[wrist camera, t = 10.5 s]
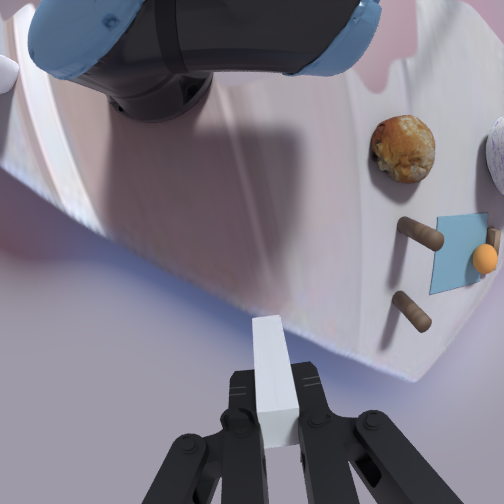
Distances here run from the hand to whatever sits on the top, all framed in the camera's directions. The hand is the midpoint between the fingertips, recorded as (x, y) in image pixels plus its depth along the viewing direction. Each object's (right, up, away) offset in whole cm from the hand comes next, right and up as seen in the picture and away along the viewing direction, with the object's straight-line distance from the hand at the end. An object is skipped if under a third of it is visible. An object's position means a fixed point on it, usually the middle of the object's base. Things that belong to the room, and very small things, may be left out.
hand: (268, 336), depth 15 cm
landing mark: (+37, +5, +25) cm, 45 cm away
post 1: (+22, +9, +23) cm, 33 cm away
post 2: (+24, -3, +27) cm, 36 cm away
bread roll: (+20, +20, +20) cm, 35 cm away
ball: (+42, +3, +23) cm, 48 cm away
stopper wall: (+45, +6, +25) cm, 52 cm away
